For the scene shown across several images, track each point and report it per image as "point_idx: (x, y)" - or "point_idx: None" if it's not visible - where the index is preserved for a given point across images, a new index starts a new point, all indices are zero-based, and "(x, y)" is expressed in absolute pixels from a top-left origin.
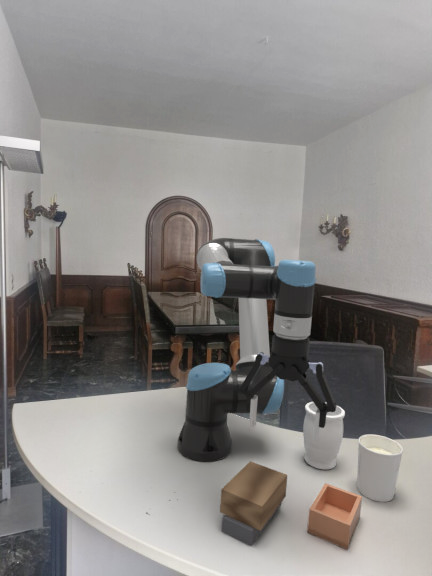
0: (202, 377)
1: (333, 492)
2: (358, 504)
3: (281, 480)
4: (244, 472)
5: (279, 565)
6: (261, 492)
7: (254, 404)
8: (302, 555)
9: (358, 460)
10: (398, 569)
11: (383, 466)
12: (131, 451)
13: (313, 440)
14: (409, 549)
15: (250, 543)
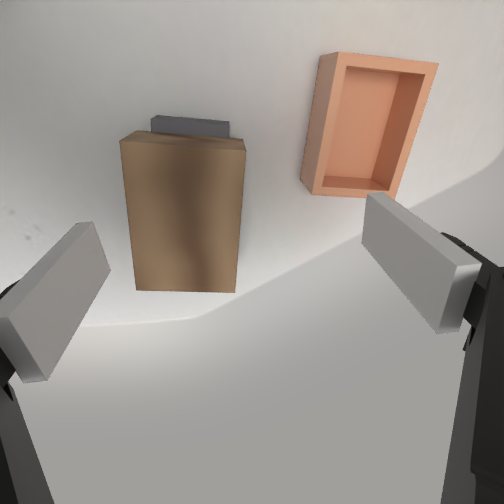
0: None
1: (359, 67)
2: (422, 110)
3: (240, 186)
4: (140, 207)
5: (273, 268)
6: (215, 257)
7: (59, 345)
8: (301, 234)
9: None
10: (450, 183)
11: None
12: None
13: (367, 249)
14: (488, 118)
15: None
